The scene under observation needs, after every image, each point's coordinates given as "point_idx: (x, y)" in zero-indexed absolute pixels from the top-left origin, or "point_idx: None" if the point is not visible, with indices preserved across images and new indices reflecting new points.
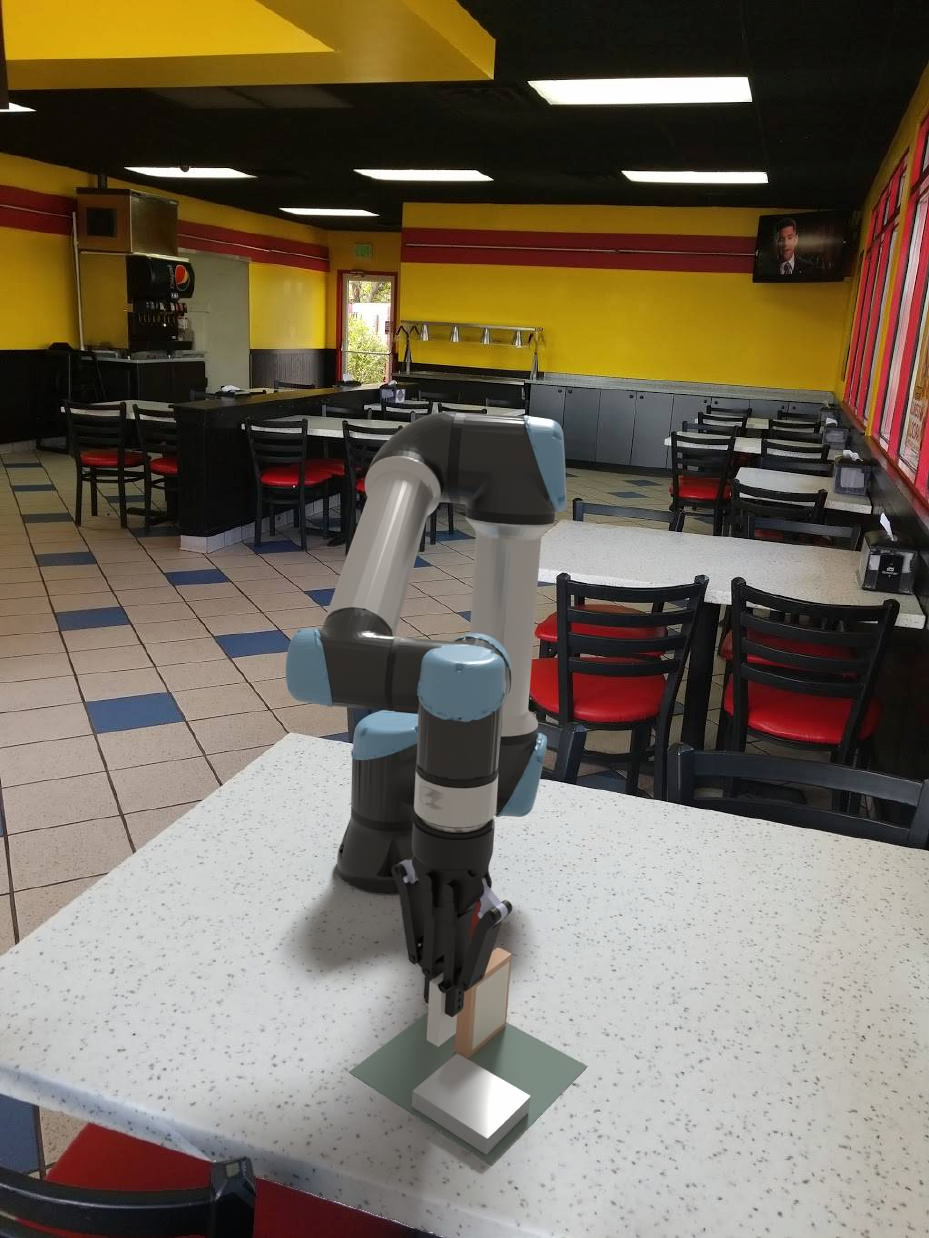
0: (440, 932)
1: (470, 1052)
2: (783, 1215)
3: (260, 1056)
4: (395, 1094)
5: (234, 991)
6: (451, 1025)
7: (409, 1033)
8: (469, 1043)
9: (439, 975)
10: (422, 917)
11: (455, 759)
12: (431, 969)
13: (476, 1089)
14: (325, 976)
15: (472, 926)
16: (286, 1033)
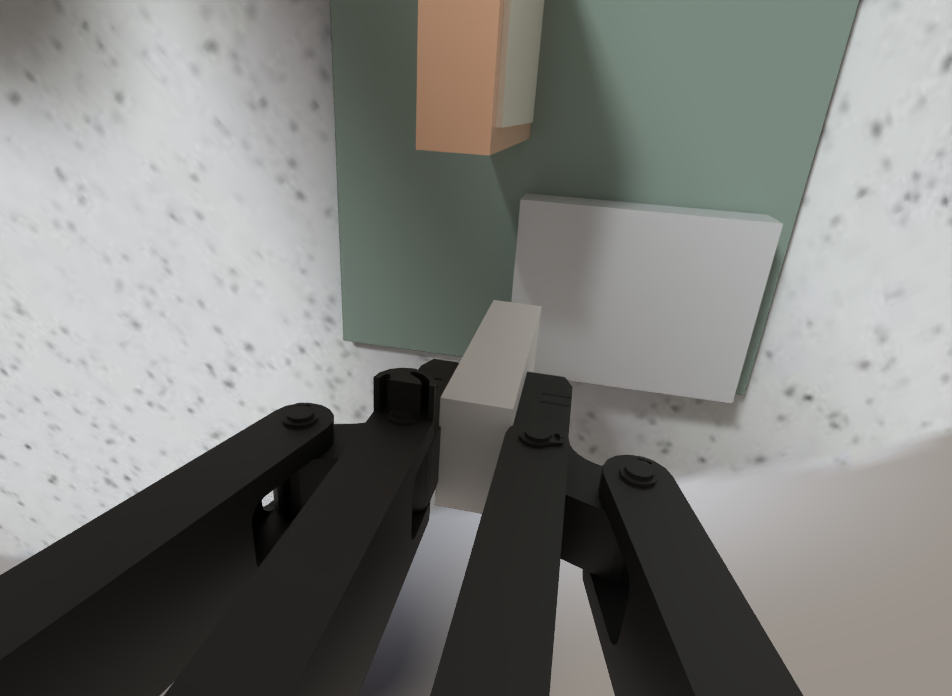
0: (351, 661)
1: (529, 125)
2: None
3: (194, 381)
4: (460, 341)
5: (3, 268)
6: (534, 346)
7: (354, 152)
8: (524, 134)
9: (442, 454)
10: (155, 606)
11: None
12: (420, 539)
13: (635, 286)
14: (54, 89)
15: None
16: (171, 306)
